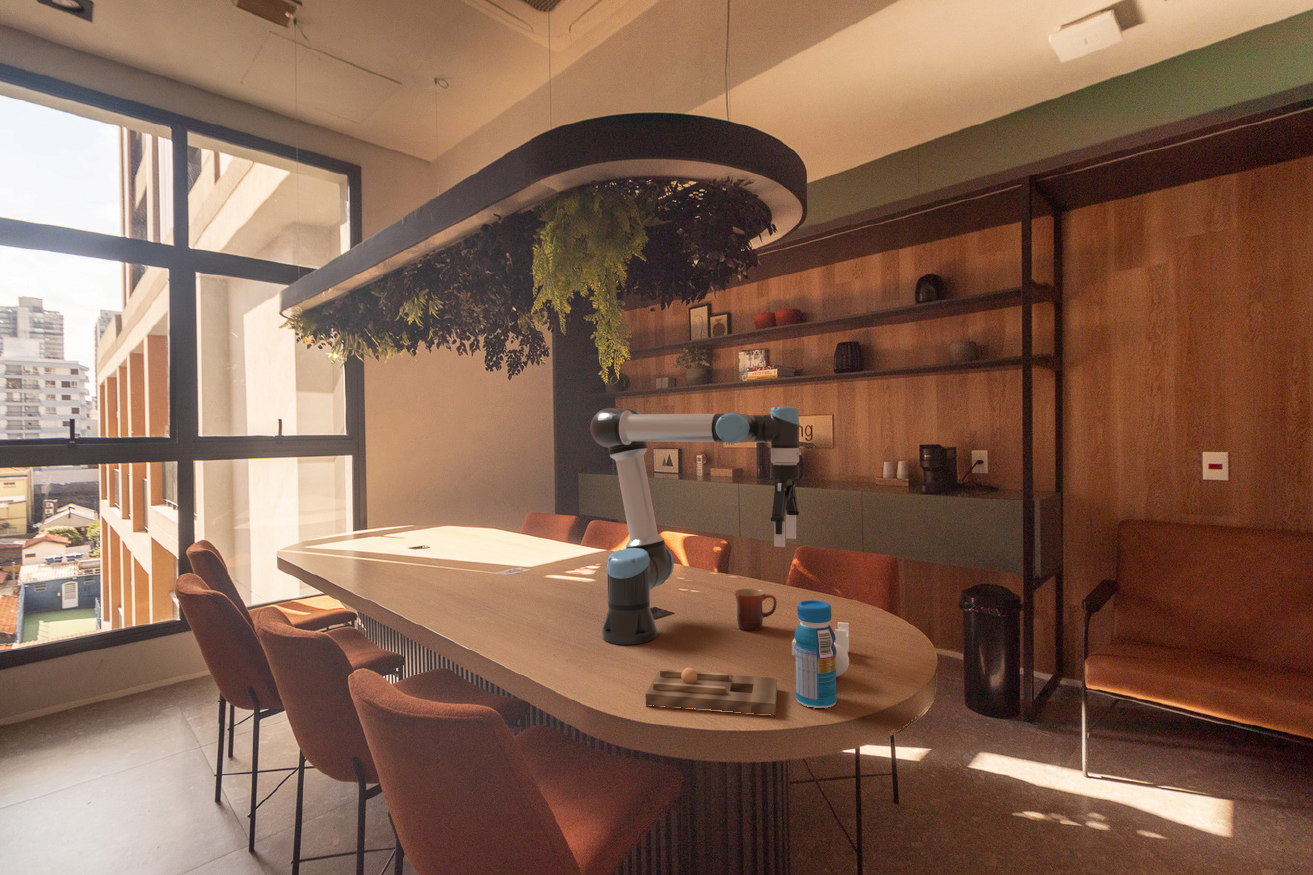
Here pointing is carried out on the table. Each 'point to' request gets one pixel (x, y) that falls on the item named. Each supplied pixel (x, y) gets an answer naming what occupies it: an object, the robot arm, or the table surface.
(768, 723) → the table surface
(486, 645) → the table surface
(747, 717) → the table surface
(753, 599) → the mug
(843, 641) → the bracket
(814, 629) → the beverage bottle
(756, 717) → the table surface
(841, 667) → the white knot
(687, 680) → the ball
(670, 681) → the lane board
